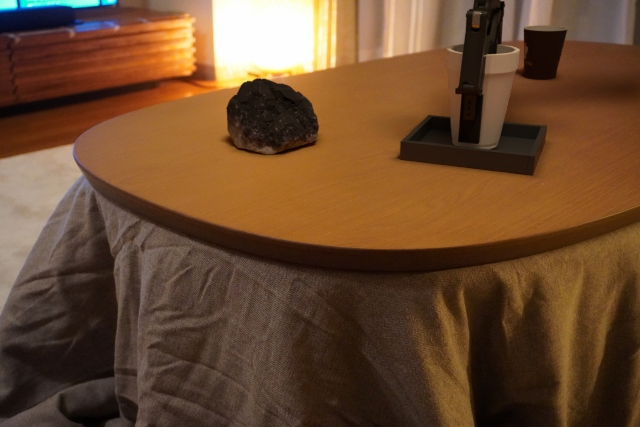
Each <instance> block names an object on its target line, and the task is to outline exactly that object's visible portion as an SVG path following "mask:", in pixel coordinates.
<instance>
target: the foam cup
mask: <svg viewBox="0 0 640 427" xmlns="http://www.w3.org/2000/svg"><path fill="white" fill-rule="evenodd" d="M463 47H464V43H460V44H455V45H450V46H448V47H447V48H446V49H445V50H446V53H445V67H446V69H447V70H446V72H447V74H446V75H447V88H448V101H449V103H448V104H449V117H450V119H451V134H452V142H453V144H454V145H456V146H464V147H474V148H483V149H491V148H494V147H496V146H497V145H498V141H499V139H500V135H501V131H502V127H503V123H504V122H505V118H506V113H507V110H508V105H509V101H510V98H511V93H512V88H513V86H514V81H515V77H516V72H517V69H518V68H519V64H520V56H521V48H518V47H517V46H514V45H513V46H512V45H508V44H502V45H500V44H498V45H497V54H487V55H484V57H485V56H486V64H485V76H484V82H483V88H482V89H483V92H482V94H484V96H483V108H482V119H481V130H480V142H479V144H472V143H463V142H458V135H459V121H460V108H461V94H455V88H458V86H459V80H460V72H461V64H462V55H463ZM468 83H470V84H475V83H473V82H468Z"/></svg>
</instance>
